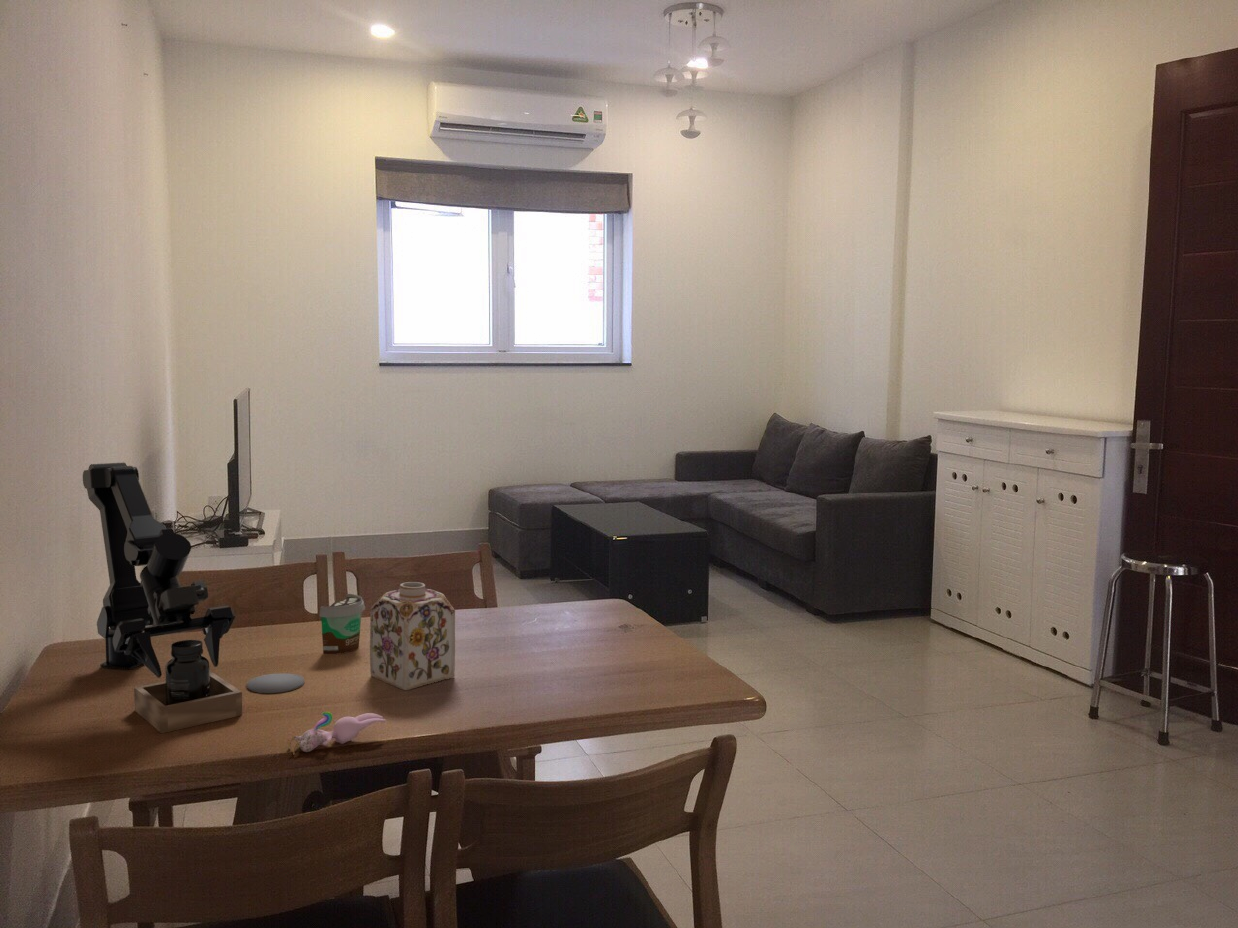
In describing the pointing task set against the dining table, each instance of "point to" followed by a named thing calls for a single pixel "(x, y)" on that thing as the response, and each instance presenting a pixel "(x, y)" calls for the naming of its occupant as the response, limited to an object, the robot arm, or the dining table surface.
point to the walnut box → (187, 705)
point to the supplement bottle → (187, 673)
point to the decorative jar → (412, 637)
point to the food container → (342, 625)
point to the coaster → (275, 683)
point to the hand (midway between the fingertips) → (188, 670)
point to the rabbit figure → (334, 731)
